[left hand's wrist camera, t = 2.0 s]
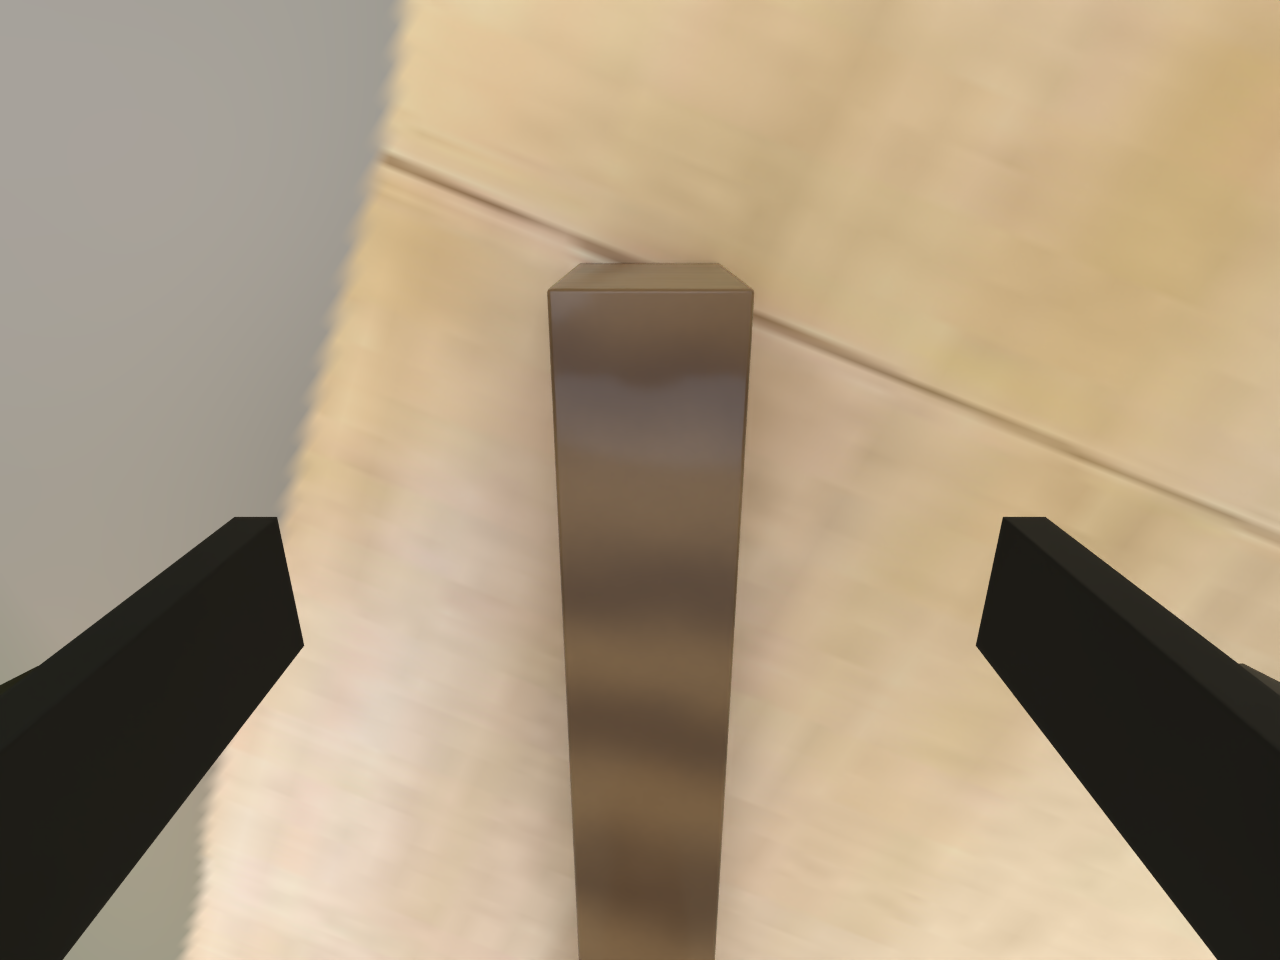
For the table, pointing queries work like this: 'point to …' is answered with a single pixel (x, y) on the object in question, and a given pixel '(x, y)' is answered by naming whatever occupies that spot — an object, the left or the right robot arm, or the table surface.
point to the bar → (648, 589)
